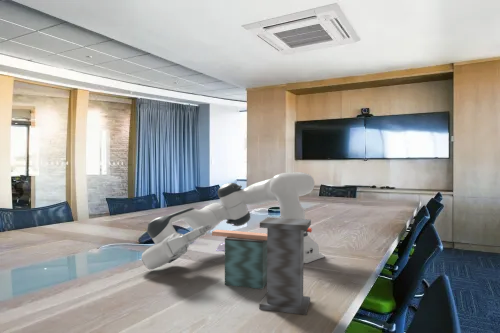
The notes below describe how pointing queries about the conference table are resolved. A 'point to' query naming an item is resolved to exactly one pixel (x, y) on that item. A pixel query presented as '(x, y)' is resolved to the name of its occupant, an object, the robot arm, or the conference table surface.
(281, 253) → the tall pedestal
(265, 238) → the slat
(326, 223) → the conference table surface
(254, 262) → the low pedestal
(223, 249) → the mobile phone
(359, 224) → the conference table surface
